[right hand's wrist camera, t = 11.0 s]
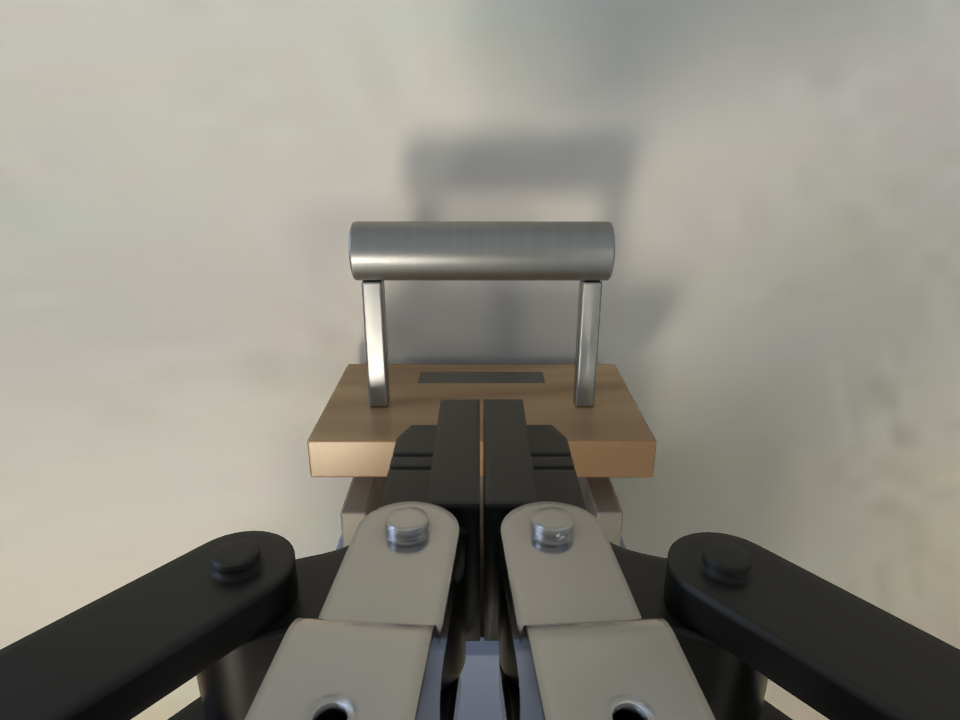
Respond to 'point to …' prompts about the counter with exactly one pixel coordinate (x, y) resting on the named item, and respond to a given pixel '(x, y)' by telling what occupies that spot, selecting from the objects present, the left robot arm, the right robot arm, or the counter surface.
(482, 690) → the cabinet
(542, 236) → the drawer
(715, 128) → the counter surface
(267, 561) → the right robot arm
